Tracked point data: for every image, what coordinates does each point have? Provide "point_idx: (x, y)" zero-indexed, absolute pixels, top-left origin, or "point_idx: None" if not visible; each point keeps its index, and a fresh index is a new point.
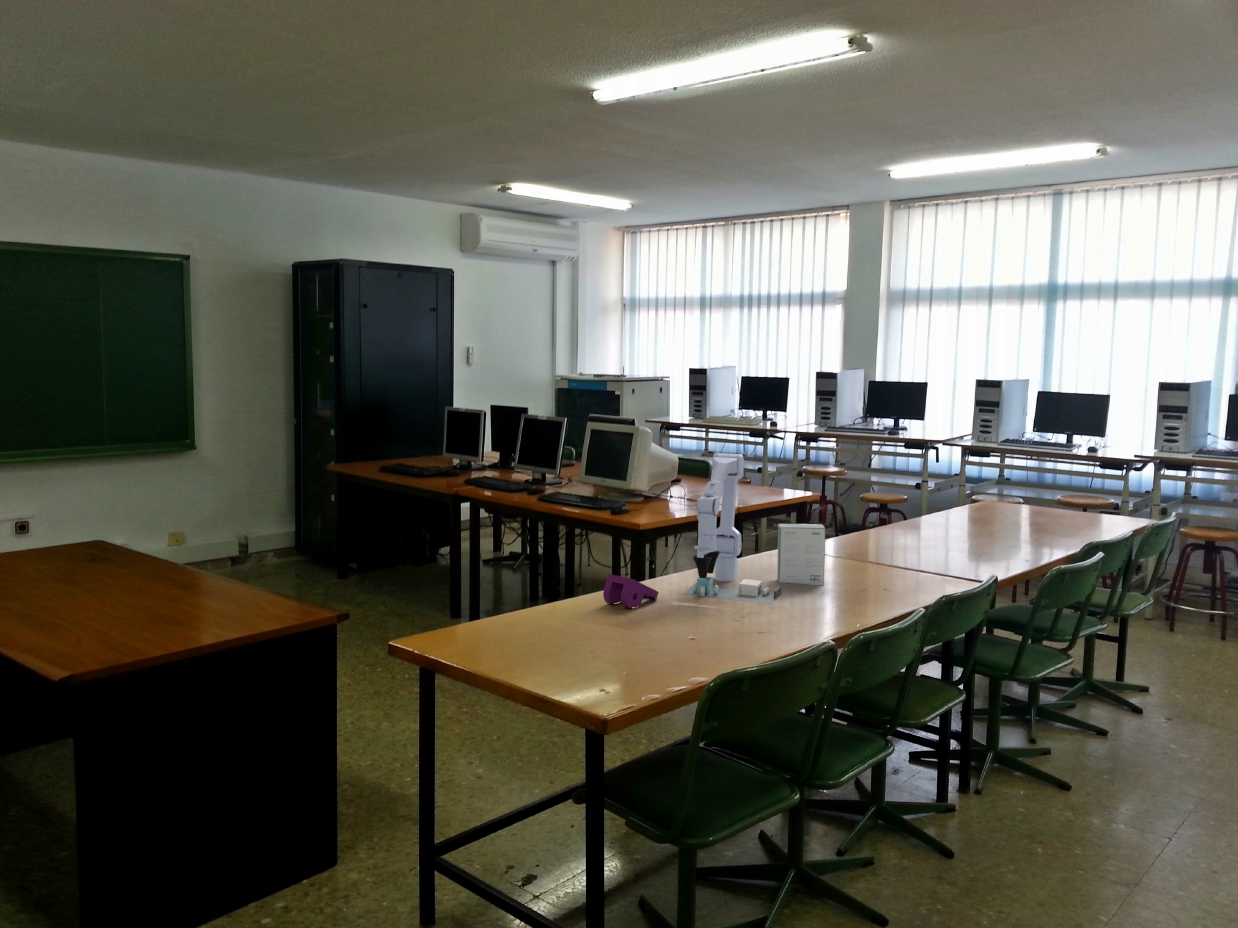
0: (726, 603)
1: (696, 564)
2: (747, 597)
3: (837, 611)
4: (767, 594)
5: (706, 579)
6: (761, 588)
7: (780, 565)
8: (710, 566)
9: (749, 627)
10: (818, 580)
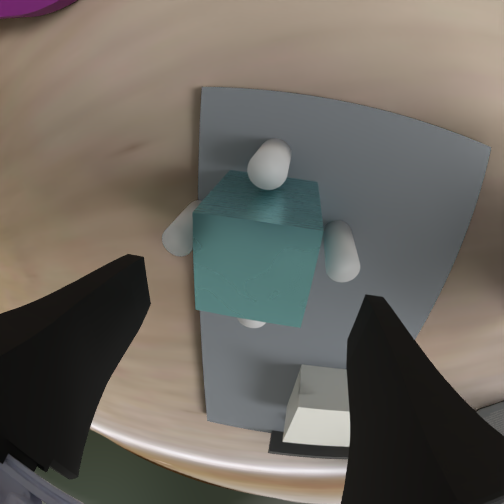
0: (168, 317)
1: (7, 315)
2: (258, 385)
3: (231, 469)
4: None
5: (204, 290)
6: None
7: None
8: (363, 378)
9: None
10: None
